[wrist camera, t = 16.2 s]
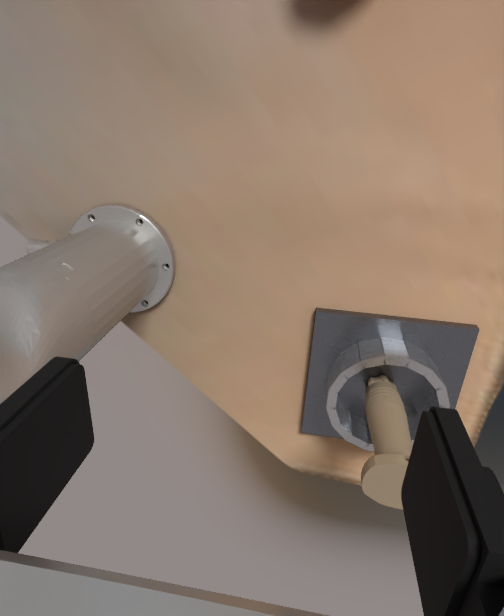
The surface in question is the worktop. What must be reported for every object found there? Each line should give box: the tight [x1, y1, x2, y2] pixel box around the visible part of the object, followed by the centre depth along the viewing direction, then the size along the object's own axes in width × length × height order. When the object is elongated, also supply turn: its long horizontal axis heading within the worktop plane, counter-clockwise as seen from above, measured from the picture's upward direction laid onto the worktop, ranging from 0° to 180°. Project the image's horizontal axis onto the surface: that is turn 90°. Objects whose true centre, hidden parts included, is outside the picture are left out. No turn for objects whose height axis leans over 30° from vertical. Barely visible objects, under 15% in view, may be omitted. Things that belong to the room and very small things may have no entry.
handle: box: [361, 375, 412, 510], centre depth 42 cm, size 5×6×15 cm
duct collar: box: [301, 308, 479, 452], centre depth 47 cm, size 17×17×5 cm
